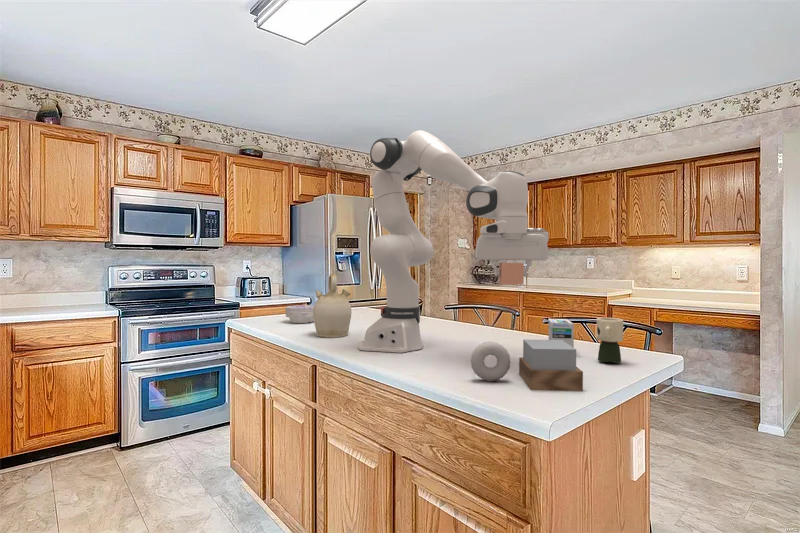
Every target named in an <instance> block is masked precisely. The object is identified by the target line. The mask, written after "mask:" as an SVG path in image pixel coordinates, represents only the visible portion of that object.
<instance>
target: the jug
mask: <svg viewBox="0 0 800 533" xmlns="http://www.w3.org/2000/svg"><path fill="white" fill-rule="evenodd" d="M327 281H328V283H327V284H328V286H327V289H328V292H327V293H326V294H323V292H321V291H319V290H316V291H315V297H316V298H317V300H316V302H315V303H314V304H313V305H314V308H313V317H314V320H313V322H314V327H315V331H316V336H317V337H319V338H325V337H328V338H327V339H331V338H332V339H333V338H334V337H336V338H343V336H344V337H347V336H348V334H349V330H350V325H351V319H352V305H351V304H350V301H349V300H348V297H349V296H351V295H352V294H351V292H350V291H348V290H346V289H344V288H343V289H342V291H341V294H339V293H338V292H337V289H338V288H337V287H338V276H337V274H336V273H335V272H331V273H330V274H329V276H328V280H327Z"/></svg>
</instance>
